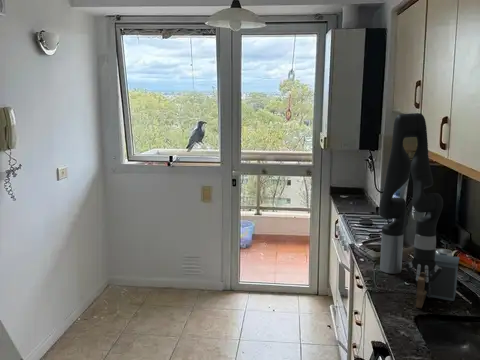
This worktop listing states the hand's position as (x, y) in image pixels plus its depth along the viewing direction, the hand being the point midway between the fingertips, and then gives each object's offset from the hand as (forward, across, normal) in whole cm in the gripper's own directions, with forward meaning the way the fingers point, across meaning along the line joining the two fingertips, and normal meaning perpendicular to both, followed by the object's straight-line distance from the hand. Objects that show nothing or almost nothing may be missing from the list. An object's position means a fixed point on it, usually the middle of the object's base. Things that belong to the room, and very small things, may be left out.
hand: (421, 289), depth 184 cm
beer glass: (+5, -5, -21) cm, 22 cm away
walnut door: (+5, 0, 0) cm, 5 cm away
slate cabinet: (+5, -4, -10) cm, 12 cm away
